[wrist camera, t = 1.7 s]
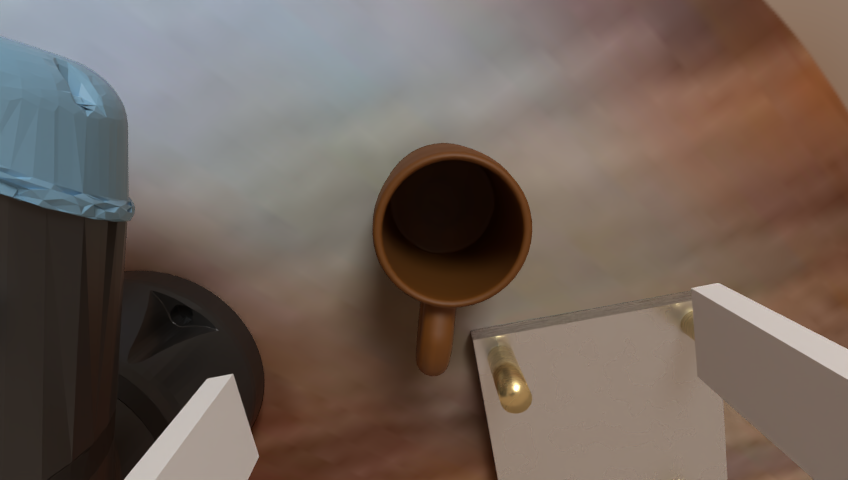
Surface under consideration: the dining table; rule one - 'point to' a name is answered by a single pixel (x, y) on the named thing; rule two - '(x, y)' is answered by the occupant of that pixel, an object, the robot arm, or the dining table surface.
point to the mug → (449, 237)
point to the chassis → (601, 396)
